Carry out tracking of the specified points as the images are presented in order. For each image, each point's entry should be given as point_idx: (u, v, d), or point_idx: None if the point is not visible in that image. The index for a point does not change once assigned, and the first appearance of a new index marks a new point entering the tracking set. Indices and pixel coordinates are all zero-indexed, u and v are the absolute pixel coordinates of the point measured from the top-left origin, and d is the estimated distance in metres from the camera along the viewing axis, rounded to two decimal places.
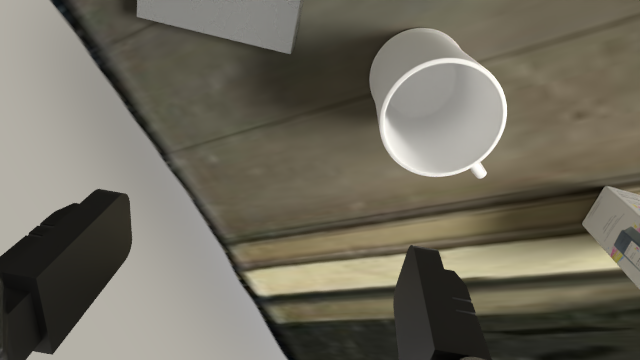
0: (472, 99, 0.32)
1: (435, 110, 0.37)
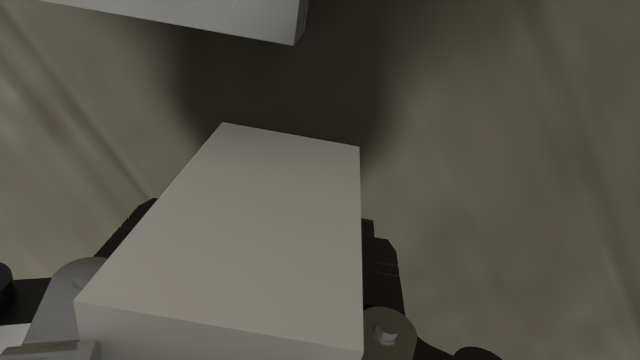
0: None
1: None
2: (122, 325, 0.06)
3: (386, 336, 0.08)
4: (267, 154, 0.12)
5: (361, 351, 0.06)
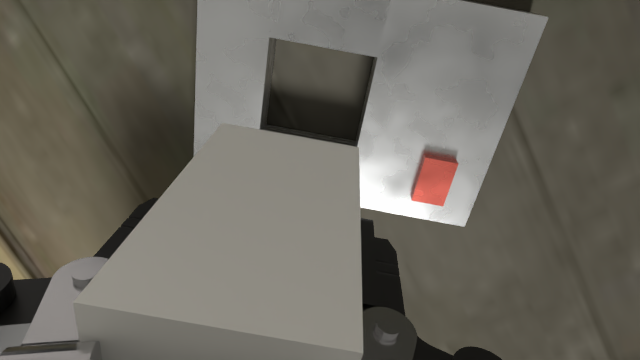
0: None
1: None
2: (122, 327, 0.06)
3: (386, 336, 0.08)
4: (267, 155, 0.12)
5: (361, 353, 0.06)
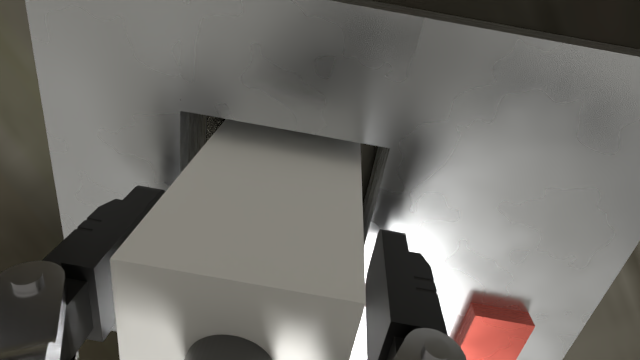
0: None
1: None
2: (152, 281, 0.07)
3: None
4: (274, 141, 0.13)
5: (363, 303, 0.07)
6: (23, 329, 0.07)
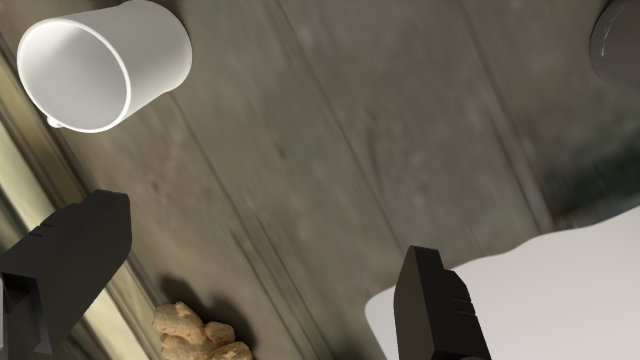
0: None
1: (122, 70, 0.40)
2: None
3: None
4: None
5: None
6: None
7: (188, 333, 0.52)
